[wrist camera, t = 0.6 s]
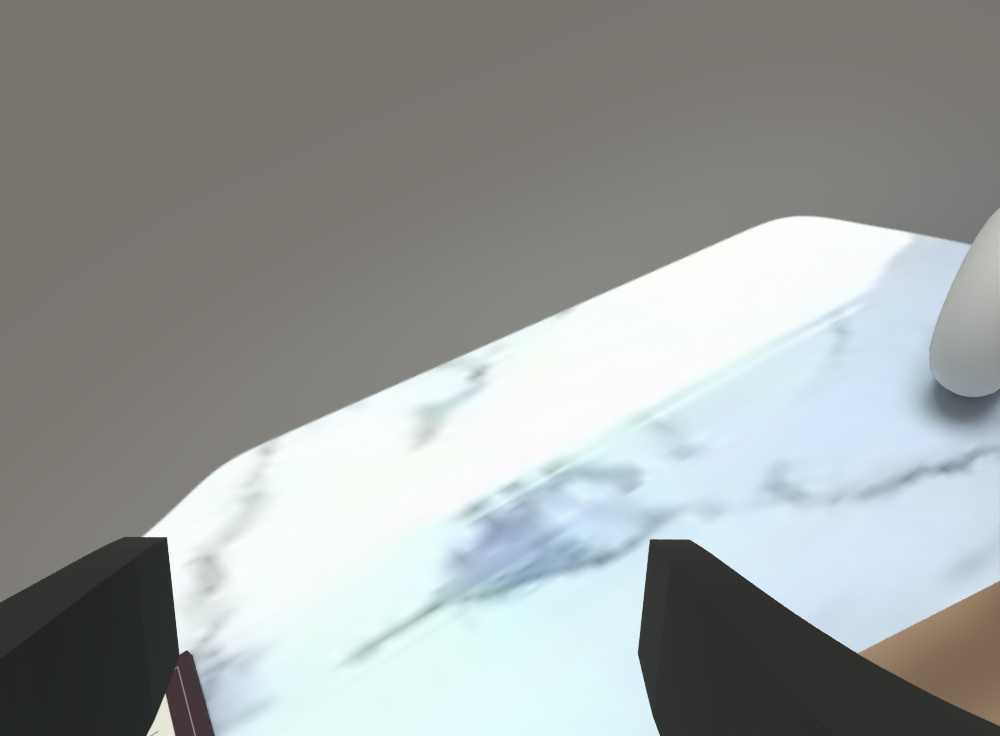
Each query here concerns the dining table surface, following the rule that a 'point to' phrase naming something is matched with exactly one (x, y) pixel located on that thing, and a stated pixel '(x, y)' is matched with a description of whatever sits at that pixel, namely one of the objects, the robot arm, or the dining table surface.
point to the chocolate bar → (183, 704)
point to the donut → (971, 321)
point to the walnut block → (951, 654)
